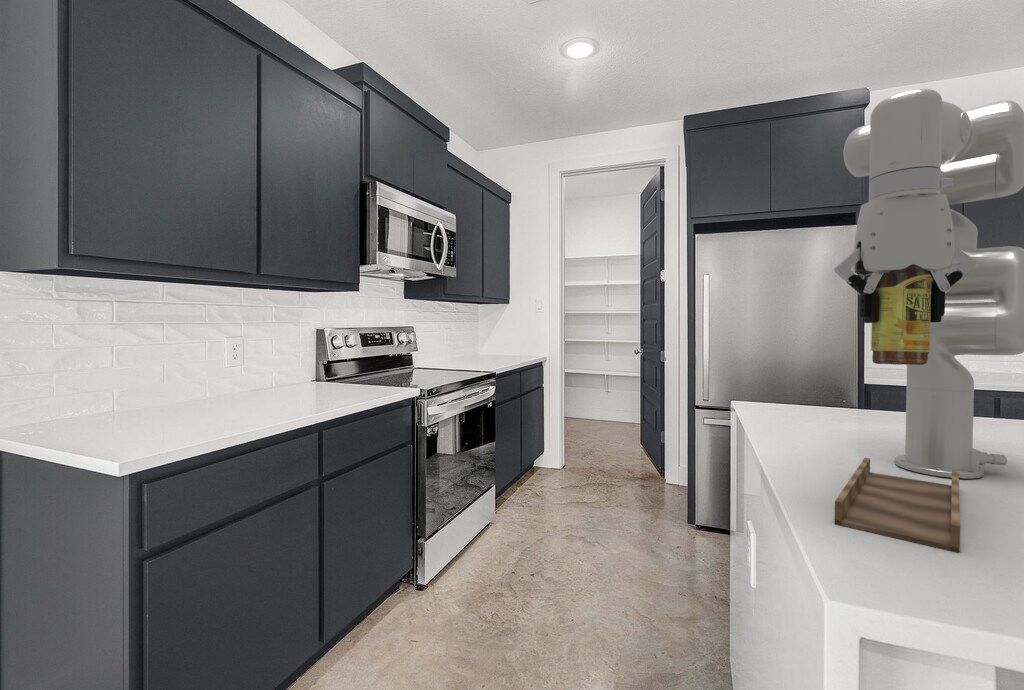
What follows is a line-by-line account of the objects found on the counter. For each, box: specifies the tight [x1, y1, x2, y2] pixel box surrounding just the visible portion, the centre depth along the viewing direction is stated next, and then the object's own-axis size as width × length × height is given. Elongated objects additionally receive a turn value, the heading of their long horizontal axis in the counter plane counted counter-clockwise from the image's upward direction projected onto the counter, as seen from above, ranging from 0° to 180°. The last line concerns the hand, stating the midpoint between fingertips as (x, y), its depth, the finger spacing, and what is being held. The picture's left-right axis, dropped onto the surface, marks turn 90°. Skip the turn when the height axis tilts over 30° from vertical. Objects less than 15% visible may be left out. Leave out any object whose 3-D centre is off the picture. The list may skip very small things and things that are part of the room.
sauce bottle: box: [870, 264, 931, 366], centre depth 65 cm, size 7×6×20 cm
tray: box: [834, 457, 961, 553], centre depth 72 cm, size 30×13×3 cm, turn 137°
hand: (900, 321), depth 65 cm, fingers closed on sauce bottle, 6 cm apart
